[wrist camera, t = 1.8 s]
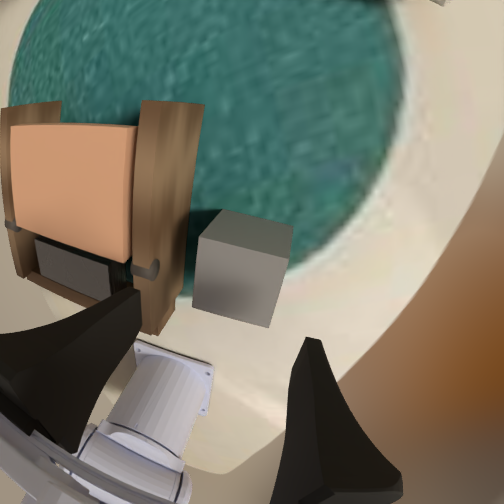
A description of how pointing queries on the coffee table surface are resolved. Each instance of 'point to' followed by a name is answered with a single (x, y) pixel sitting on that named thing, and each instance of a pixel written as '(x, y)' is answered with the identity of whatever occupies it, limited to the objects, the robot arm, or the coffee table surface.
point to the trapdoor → (77, 200)
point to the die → (441, 2)
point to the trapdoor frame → (144, 204)
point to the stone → (241, 267)
